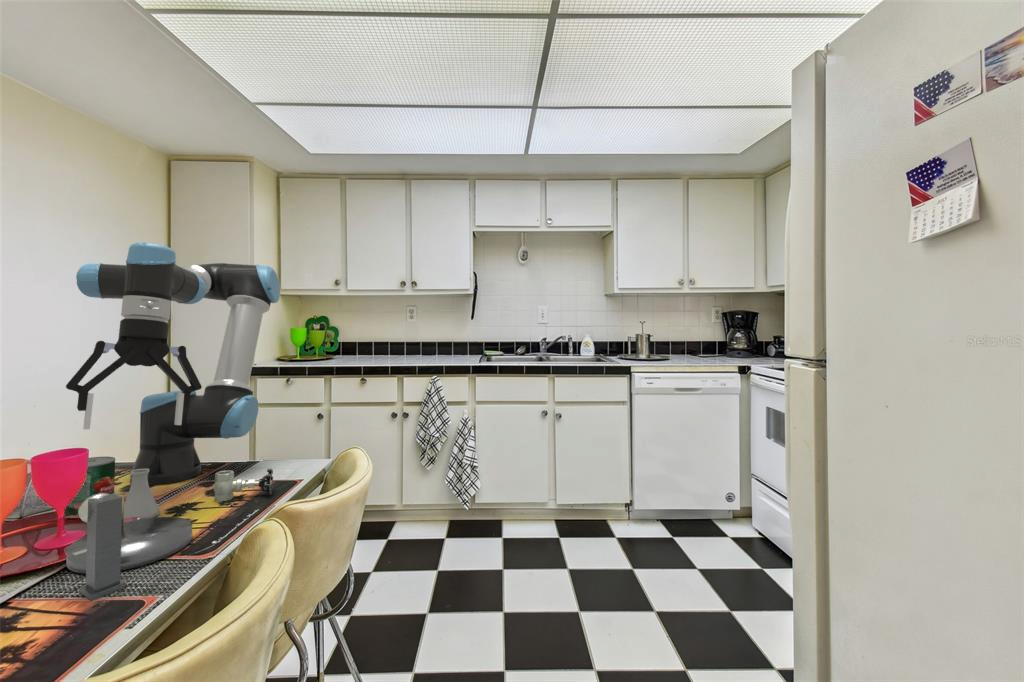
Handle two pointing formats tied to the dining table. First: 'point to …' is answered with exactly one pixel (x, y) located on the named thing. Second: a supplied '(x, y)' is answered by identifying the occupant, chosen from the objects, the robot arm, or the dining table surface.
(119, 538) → the post
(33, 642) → the dining table surface
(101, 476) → the canned tomato
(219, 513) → the dining table surface
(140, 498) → the flask
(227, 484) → the valve
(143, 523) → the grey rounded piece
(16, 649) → the dining table surface
